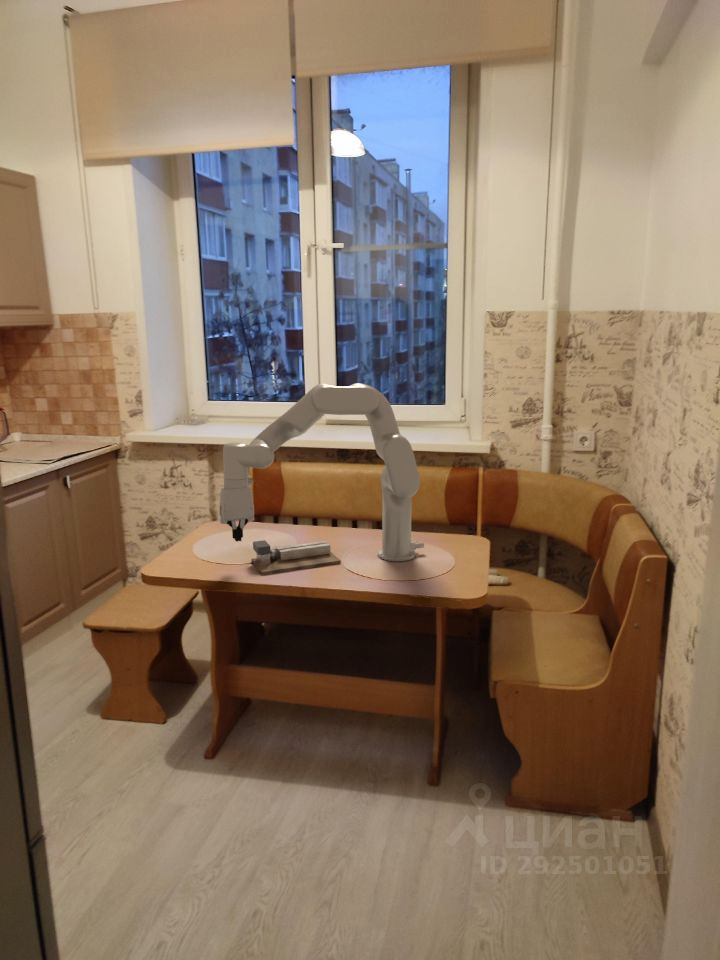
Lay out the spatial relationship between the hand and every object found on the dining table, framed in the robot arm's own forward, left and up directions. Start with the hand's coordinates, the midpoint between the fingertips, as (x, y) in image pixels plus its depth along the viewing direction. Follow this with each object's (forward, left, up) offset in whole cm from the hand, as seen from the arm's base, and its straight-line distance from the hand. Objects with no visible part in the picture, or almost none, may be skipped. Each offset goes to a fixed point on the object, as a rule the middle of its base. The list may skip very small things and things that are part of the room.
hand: (237, 540), depth 209 cm
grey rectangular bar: (-20, +1, -8) cm, 21 cm away
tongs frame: (-18, 0, -8) cm, 20 cm away
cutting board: (-18, +3, -9) cm, 20 cm away
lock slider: (-7, 0, -5) cm, 9 cm away
